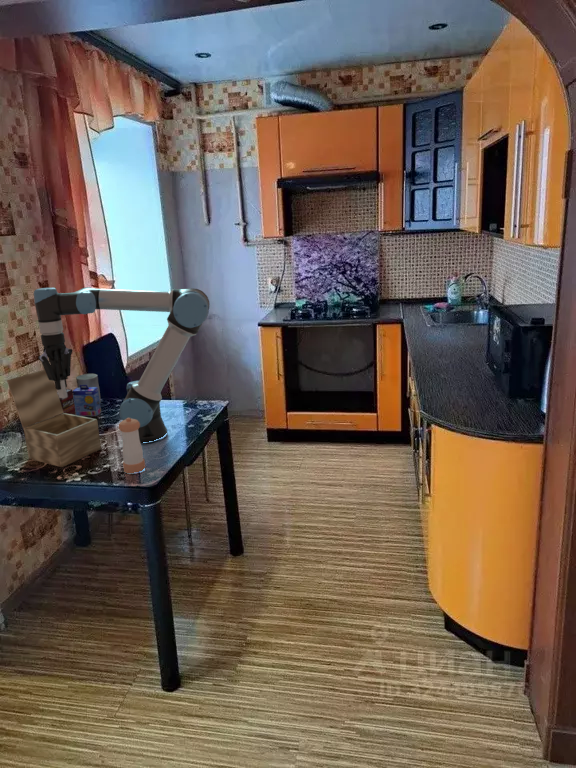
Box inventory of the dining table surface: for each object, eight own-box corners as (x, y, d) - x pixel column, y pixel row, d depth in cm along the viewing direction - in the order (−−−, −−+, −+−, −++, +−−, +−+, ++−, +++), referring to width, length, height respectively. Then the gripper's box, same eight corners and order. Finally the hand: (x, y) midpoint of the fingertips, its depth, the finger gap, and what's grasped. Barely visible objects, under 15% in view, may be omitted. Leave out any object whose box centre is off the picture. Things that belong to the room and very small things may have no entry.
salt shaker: (120, 474, 188) (113, 421, 183) (129, 465, 195) (123, 414, 189) (140, 475, 187) (133, 422, 181) (149, 466, 193) (143, 414, 188)
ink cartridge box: (75, 416, 248) (70, 385, 244) (80, 412, 254) (75, 382, 250) (97, 416, 248) (92, 385, 244) (101, 412, 253) (97, 381, 249)
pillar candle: (79, 402, 269) (74, 372, 265) (100, 399, 273) (96, 369, 268) (80, 408, 260) (76, 377, 256) (102, 404, 264) (98, 374, 260)
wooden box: (101, 448, 211) (97, 419, 207) (62, 467, 196) (56, 435, 192) (68, 441, 219) (64, 413, 216) (29, 458, 204) (23, 428, 201)
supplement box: (66, 431, 231) (60, 395, 226) (56, 431, 231) (50, 394, 227) (78, 424, 239) (72, 389, 234) (68, 423, 240) (62, 388, 235)
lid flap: (49, 368, 213) (48, 368, 213) (7, 380, 198) (6, 380, 198) (63, 412, 216) (62, 412, 216) (23, 427, 201) (22, 427, 201)
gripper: (60, 329, 200) (70, 391, 207) (28, 336, 190) (40, 401, 196) (74, 330, 197) (84, 393, 203) (43, 337, 186) (55, 403, 193)
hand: (63, 397), depth 200 cm, fingers closed
